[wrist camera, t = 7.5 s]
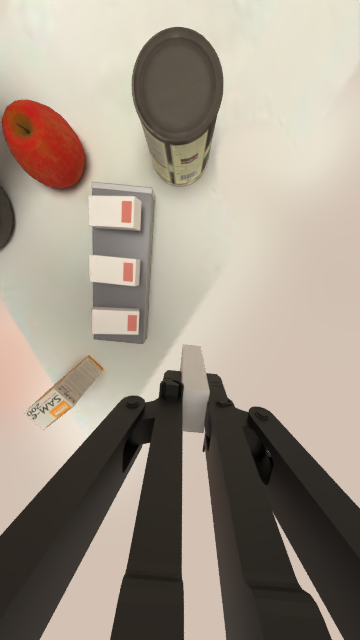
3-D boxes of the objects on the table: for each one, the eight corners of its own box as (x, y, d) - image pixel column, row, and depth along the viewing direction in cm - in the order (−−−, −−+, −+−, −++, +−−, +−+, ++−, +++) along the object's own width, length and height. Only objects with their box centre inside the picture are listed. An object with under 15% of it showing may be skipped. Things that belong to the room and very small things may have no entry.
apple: (31, 127, 36) (-30, 71, 26) (89, 128, 36) (51, 73, 26) (39, 192, 38) (-13, 165, 28) (93, 194, 38) (60, 167, 28)
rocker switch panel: (101, 332, 45) (91, 340, 40) (100, 190, 38) (89, 179, 33) (147, 337, 45) (142, 345, 40) (155, 195, 38) (151, 185, 33)
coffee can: (180, 104, 35) (178, -3, 21) (220, 154, 36) (242, 87, 23) (139, 153, 37) (112, 86, 23) (179, 199, 38) (176, 162, 25)
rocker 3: (94, 329, 38) (92, 334, 36) (94, 306, 37) (91, 309, 35) (138, 330, 40) (138, 334, 38) (139, 308, 39) (139, 311, 37)
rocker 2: (96, 280, 37) (89, 281, 35) (96, 255, 36) (88, 254, 34) (139, 285, 37) (134, 286, 34) (140, 259, 36) (135, 259, 33)
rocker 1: (98, 228, 36) (88, 225, 33) (98, 200, 35) (87, 195, 32) (140, 230, 34) (132, 227, 32) (141, 201, 33) (133, 195, 30)
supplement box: (89, 354, 46) (53, 386, 34) (104, 369, 47) (74, 406, 35) (64, 375, 48) (21, 413, 35) (79, 389, 49) (43, 431, 36)
